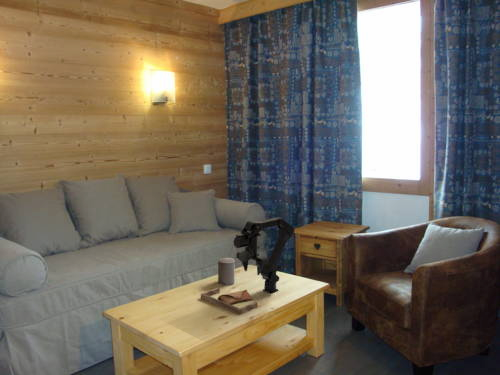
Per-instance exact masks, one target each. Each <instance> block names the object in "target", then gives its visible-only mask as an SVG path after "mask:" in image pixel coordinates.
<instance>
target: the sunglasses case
mask: <svg viewBox="0 0 500 375" xmlns="http://www.w3.org/2000/svg"><path fill="white" fill-rule="evenodd" d="M217 299H218V300H220V301H223V302H225V303H228V304H230V305H233V306H234V305H236V304H240V303H244V302H249V301H254V300H255V299H254V298H253V297H252V296H251V295H250V293H249V292H248V290H247V289H244V290H241V291H235V292H230V293H227V294H219V296H218V298H217Z"/></svg>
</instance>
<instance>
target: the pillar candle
mask: <svg viewBox="0 0 500 375" xmlns="http://www.w3.org/2000/svg"><path fill="white" fill-rule="evenodd" d="M217 262H218V263H217V265H218V266H217V267H218V270H217V272H218V273H217V279H218V280H217V284H218V285H221V286H231V285H234V284H235V273H236V272H235V270H236V269H235V262H236V261H235V259H234V258H232V257H220V258H218V261H217Z"/></svg>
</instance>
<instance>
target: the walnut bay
mask: <svg viewBox="0 0 500 375" xmlns="http://www.w3.org/2000/svg"><path fill="white" fill-rule="evenodd" d="M220 293H221V292H220V287H216V288H213V289H210V290H208V291H205V292H203V293H202V292H201V293H200V299H201V300H204V301H206V302H209V303H211V304H213V305H216V306H218V307H220V308H223V309H225V310H227V311H229V312H230V311H231V312H233V313H235V314H237V315H243V314H245V313H247V312H250V311H251V310H253V309H257V308H258V302H257V301H254V302H252V303H249V304H247V305H245V306H242V307H238V306H235V305H234V304H233V305H230V304H228V303H225V302H223V301H220V300H218V298H215V297H212V296H214V295H217V294H220Z"/></svg>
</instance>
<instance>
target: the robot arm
mask: <svg viewBox="0 0 500 375" xmlns="http://www.w3.org/2000/svg"><path fill="white" fill-rule="evenodd" d="M272 227H276V228H277V229H278V231H277V240H276V242H275V245H274V247H273V250H272V251H271V254H270V257H269V258H268V257H267V256H260V253H258V252H259V251H258V250H259V249H260V246H259V245H258V244H259V243H258V240H259V239H258V238H259V237H261V236H262V234H261V233H260V232H262V231H263V230H264V229H269V228H272ZM294 233H295V228H294V226H293V225H291V224H290V223H288V222H287V221H286V220H284V218H282V217H279V216H276V217H272V218H268V219H265V220H258V221H257V220H248V221H246V223H245V225H244V227H243V228H242V231H241V233H240V234H236V235H235V237H234V239H233V246H234V247H235V248H236V249H240V248H244V250H242V251H238V252H237V253H236V255H235V257H236V259H238V260H239V261H240V262H241V264H242V266H243V270H244V272H247V271H248V267H249V266H248V265H249V261H250V260H254V261H255V266H256V271H257V272H256V273H257V274H256V275H257V276H261V277H262V279H263V280H264V288H263V289H262V291H263V292H265V293H268V294H273V293H275V292H278V291H279V289H278V288H277V282H279V281H280V277H279V275H278V274H277V272H278V267H277V264H278V262H279V260H280V258H281V255H282V254H283V251H284V248H285V246H286V243H287V242H288V241H289V240H290V239H292V237H293V234H294ZM259 256H260V257H259Z"/></svg>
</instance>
